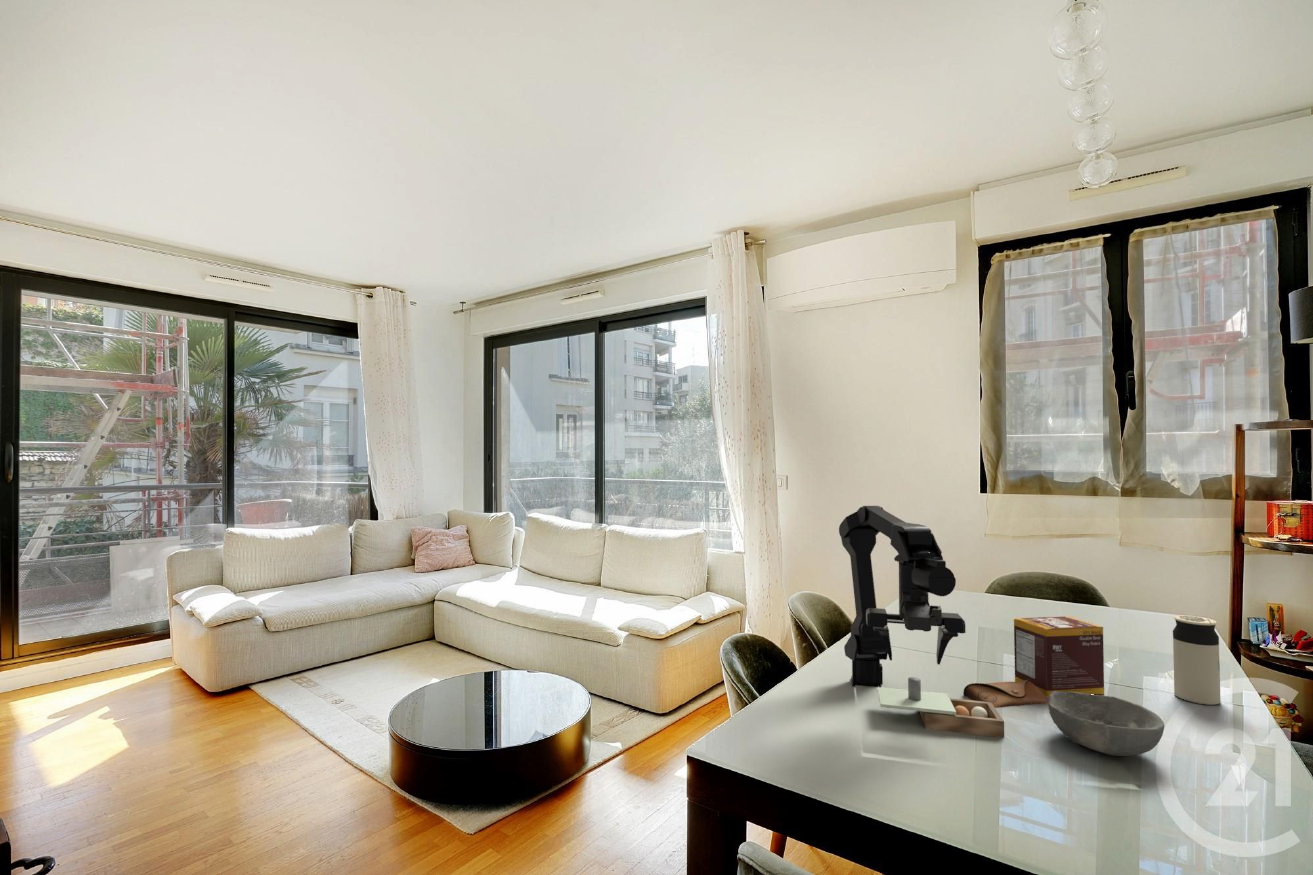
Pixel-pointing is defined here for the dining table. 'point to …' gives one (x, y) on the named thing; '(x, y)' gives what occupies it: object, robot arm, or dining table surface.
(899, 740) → the dining table surface
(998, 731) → the box
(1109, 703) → the bowl
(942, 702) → the lid
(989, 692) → the sunglasses case
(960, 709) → the ball
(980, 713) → the ball
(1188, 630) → the travel mug
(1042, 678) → the supplement box
